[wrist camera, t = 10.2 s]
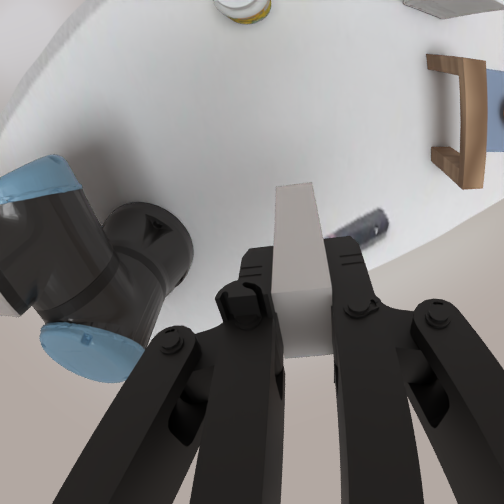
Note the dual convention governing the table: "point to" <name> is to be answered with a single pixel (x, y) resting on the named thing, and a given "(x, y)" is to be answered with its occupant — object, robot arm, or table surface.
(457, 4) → the skincare box
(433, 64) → the bridge
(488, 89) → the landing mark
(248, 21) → the supplement bottle
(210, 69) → the table surface
